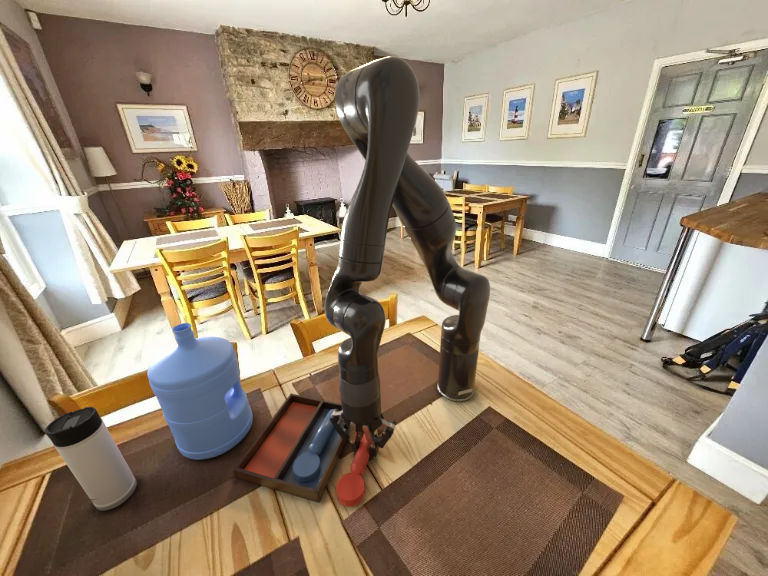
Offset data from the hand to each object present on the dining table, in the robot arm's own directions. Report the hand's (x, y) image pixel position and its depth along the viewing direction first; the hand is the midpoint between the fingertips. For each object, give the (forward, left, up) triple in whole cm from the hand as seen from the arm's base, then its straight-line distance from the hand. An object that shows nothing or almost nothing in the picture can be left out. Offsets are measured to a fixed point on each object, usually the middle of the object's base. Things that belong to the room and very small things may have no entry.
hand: (364, 453), depth 65 cm
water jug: (+3, -35, 0) cm, 35 cm away
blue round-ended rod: (+2, -10, +1) cm, 10 cm away
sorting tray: (+1, -14, 0) cm, 14 cm away
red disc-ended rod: (+3, 0, 0) cm, 3 cm away
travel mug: (+20, -43, 0) cm, 47 cm away
